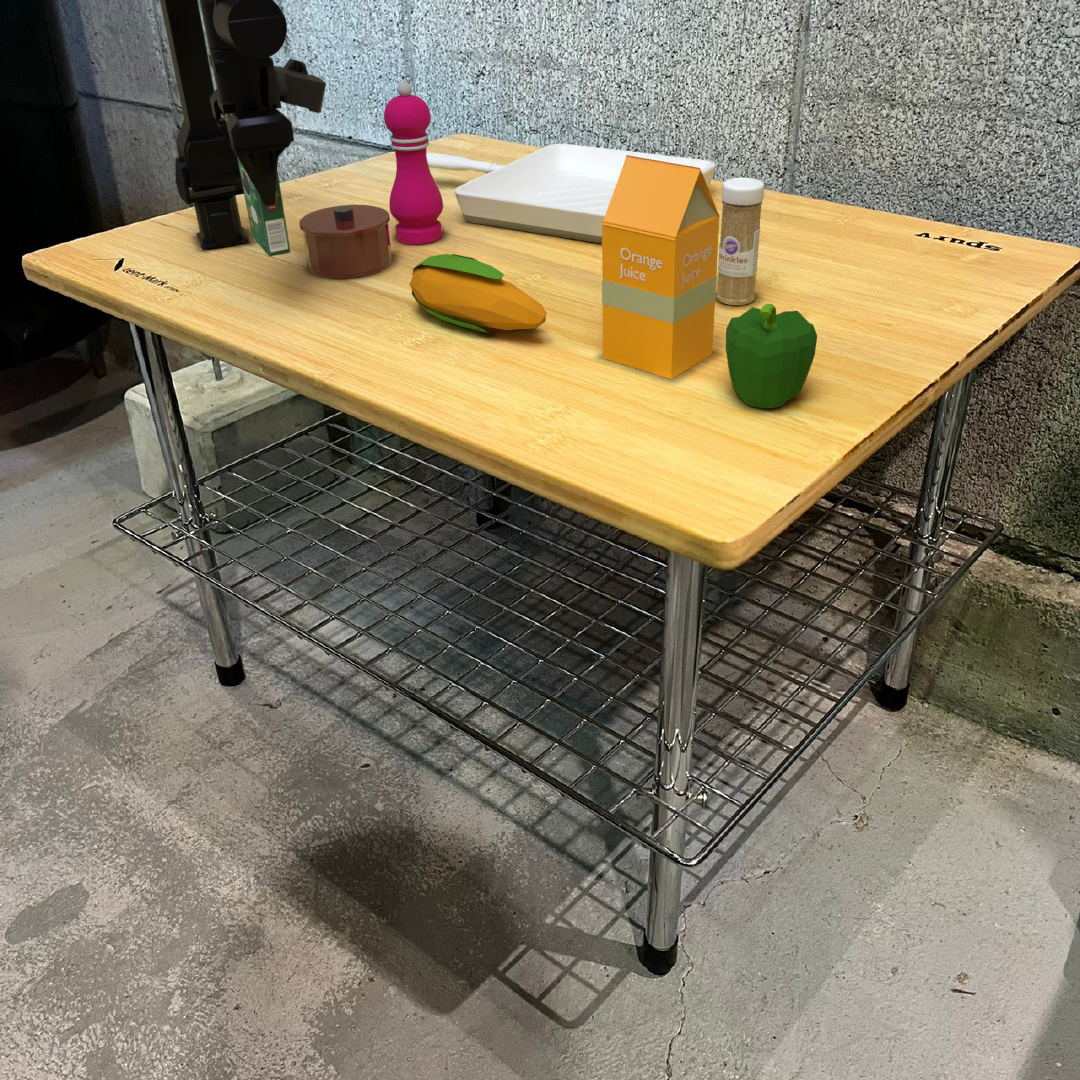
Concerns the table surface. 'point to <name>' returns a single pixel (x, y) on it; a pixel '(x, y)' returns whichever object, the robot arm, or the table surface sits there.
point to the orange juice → (659, 268)
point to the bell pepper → (769, 355)
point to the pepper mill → (412, 170)
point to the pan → (548, 188)
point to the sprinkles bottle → (739, 240)
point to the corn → (473, 294)
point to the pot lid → (344, 220)
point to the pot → (349, 254)
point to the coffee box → (265, 218)
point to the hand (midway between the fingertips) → (264, 195)
